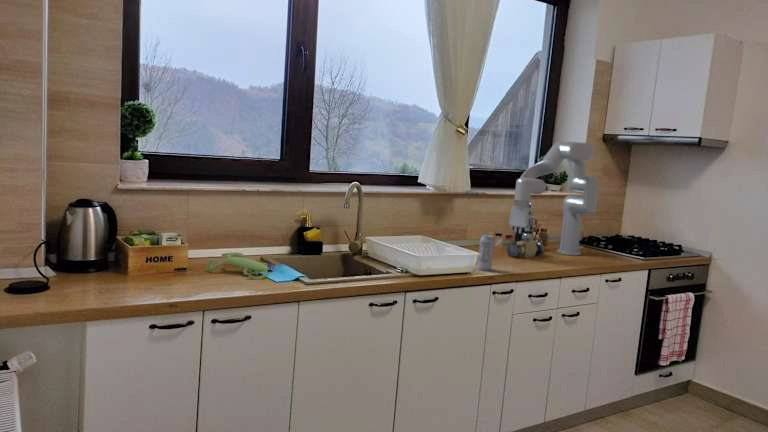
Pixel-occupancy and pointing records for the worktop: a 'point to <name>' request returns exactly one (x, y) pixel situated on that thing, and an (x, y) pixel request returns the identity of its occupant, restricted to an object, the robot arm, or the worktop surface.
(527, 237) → the lever
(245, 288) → the worktop surface
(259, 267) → the figurine
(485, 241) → the energy drink can
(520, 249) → the valve
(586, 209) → the robot arm
